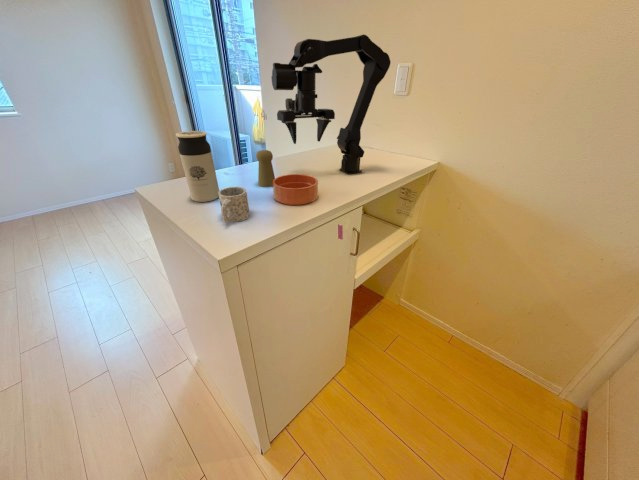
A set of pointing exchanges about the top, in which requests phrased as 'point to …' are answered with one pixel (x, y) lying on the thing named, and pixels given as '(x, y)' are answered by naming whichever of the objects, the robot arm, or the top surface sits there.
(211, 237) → the top surface
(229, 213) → the mug
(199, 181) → the travel mug
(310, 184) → the orange brown bowl
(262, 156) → the cork
